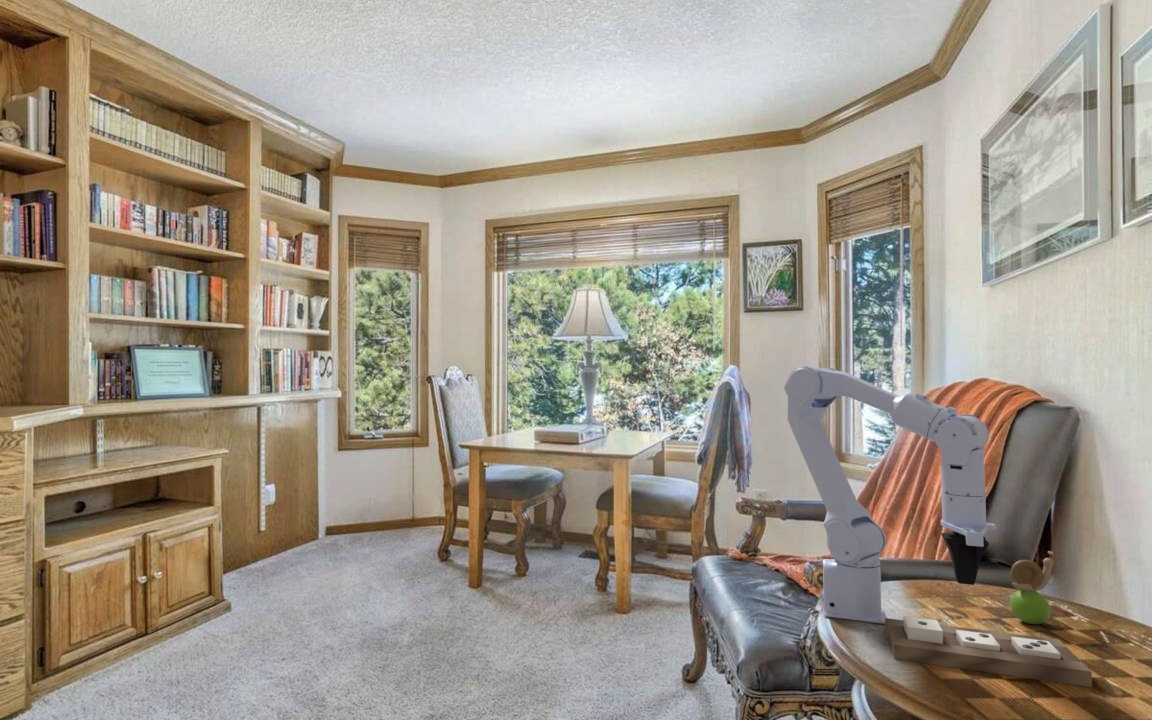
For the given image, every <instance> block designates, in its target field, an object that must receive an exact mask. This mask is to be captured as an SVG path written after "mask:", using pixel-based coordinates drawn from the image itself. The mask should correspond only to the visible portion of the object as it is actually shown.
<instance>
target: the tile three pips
mask: <svg viewBox="0 0 1152 720" xmlns="http://www.w3.org/2000/svg"><path fill="white" fill-rule="evenodd" d="M1011 644H1012V645H1013V646H1014V648H1015V649H1016V650H1017V651H1018V653H1019V654H1024V655H1031V656H1039V657H1046V658H1054V659H1061V654H1060V653H1059V652H1058V651H1057V650H1056V649H1055V648H1054V647H1053V646H1052V644H1051V643H1050V642H1049V641H1043V640H1035V639H1027V638H1019V637H1011Z"/></svg>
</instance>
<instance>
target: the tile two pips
mask: <svg viewBox="0 0 1152 720" xmlns="http://www.w3.org/2000/svg"><path fill="white" fill-rule="evenodd" d="M956 638H957V640H958V642H959V643H960V645H961V646H963V647H971V648H979V649H986V650H994V651H1000V645H999V644H998V643H997V641H996V640H995V639H994V637H993V636H992V635H991V634H986V633H978V632H970V631H962V630H956Z"/></svg>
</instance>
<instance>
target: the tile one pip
mask: <svg viewBox="0 0 1152 720" xmlns="http://www.w3.org/2000/svg"><path fill="white" fill-rule="evenodd" d="M902 618H903V619H902V620H904V634H905V637H906V639H911V640H918V641H926V642H933V643H941V644H943V631H942V629H941V627H940V625H941V624H940V623H939V621H938V620H936V619H928V618H922V617H914V616H903V617H902Z"/></svg>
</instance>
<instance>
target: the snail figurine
mask: <svg viewBox="0 0 1152 720" xmlns="http://www.w3.org/2000/svg"><path fill="white" fill-rule="evenodd" d="M1047 554H1048V555H1049V556H1051V557H1045V558H1044V559H1043V560H1042V563H1043V567H1042V568H1043V569H1042V568H1041V566H1039V564H1037V563H1036V562H1034V561H1032V560H1030V559H1020V560H1017V561H1016V562H1014V563H1013V564H1012V565H1011V567H1010V574H1011V577H1012V578H1013V580H1014V581H1015V582H1012V583H1011V584H1012V586H1013V587H1014V588H1015V589H1016V591H1015V592H1013V593H1012V594H1011V596H1010V599H1009V607H1010V610H1011V611H1012V614H1013V615H1014V616H1015V617H1016V618H1017V619H1018V620H1020V621H1022V622H1024V623H1025V624H1030V625H1040V624H1043V623H1045V622H1046V621H1047V620H1048V619H1049V617H1050V616H1051V607H1050V603H1049V602H1048V599H1046V598H1045V596H1043V595H1042V594H1041V593H1040V592H1038V591H1040V590H1043V589H1045V587H1047V585H1048V584H1049V582H1050V579H1051V576H1052V571H1053V567H1054V560H1053V556H1054V555H1055V554H1054V552H1053V551H1051V550H1048V551H1047Z"/></svg>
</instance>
